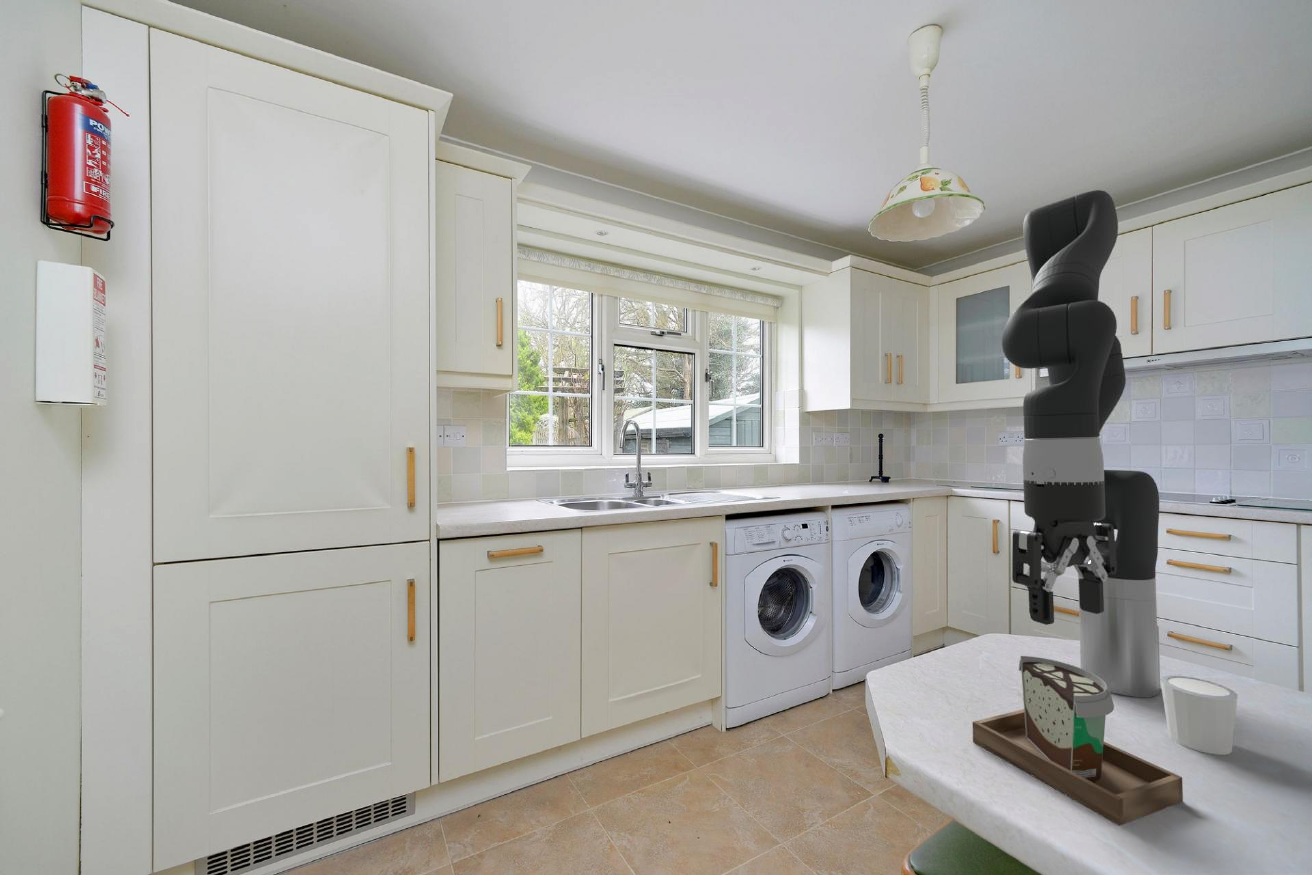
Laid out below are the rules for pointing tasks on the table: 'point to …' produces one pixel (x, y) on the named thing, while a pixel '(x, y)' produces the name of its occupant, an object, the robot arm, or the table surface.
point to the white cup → (1199, 713)
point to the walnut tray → (1115, 795)
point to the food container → (1065, 714)
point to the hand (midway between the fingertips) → (1067, 617)
